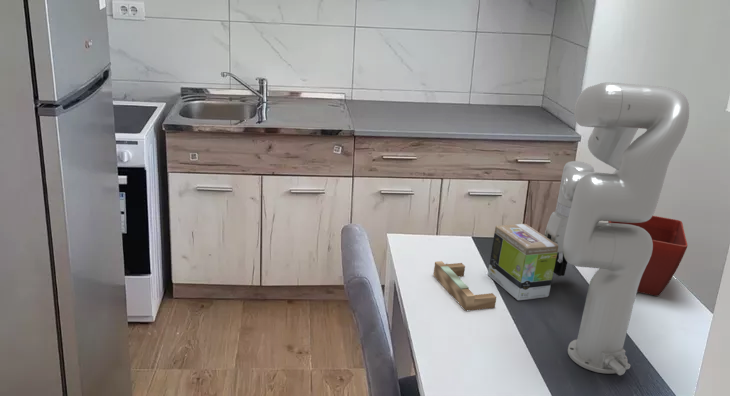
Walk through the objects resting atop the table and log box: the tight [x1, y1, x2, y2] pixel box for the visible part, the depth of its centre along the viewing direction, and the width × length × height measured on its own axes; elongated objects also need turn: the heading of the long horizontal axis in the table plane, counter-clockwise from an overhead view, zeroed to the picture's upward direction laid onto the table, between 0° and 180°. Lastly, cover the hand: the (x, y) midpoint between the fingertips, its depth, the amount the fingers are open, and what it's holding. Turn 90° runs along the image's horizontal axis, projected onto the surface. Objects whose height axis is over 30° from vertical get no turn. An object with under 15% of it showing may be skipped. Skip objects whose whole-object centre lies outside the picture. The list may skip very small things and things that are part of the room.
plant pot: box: [607, 215, 688, 297], centre depth 189 cm, size 19×19×17 cm
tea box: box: [487, 223, 559, 301], centre depth 182 cm, size 15×10×15 cm
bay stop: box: [433, 260, 497, 312], centre depth 178 cm, size 19×8×4 cm, turn 19°
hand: (558, 273), depth 186 cm, fingers closed
